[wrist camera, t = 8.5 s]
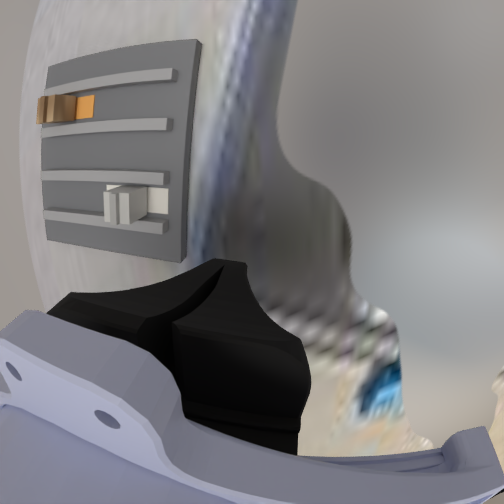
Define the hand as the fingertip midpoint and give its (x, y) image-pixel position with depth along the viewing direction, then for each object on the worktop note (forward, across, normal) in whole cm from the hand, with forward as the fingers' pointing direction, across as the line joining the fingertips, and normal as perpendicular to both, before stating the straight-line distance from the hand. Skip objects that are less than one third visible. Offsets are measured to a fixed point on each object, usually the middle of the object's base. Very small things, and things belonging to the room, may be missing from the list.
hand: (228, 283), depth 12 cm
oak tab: (+8, +16, -8) cm, 19 cm away
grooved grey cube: (+8, +9, -1) cm, 12 cm away
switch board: (+9, +12, -4) cm, 16 cm away
